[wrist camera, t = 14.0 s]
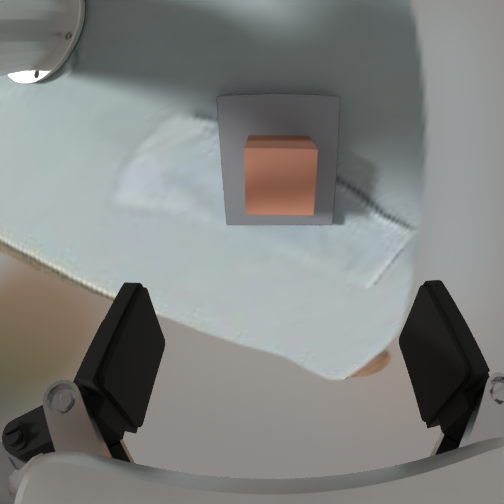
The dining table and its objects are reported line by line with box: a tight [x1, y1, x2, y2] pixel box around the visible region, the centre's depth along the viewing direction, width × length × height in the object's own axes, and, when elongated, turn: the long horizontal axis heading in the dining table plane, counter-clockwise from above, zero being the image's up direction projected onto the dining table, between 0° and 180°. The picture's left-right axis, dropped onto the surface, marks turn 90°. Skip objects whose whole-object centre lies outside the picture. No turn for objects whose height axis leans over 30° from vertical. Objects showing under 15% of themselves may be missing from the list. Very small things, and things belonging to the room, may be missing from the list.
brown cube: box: [244, 135, 318, 215], centre depth 23 cm, size 5×5×5 cm
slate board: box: [217, 94, 340, 225], centre depth 25 cm, size 12×10×2 cm
